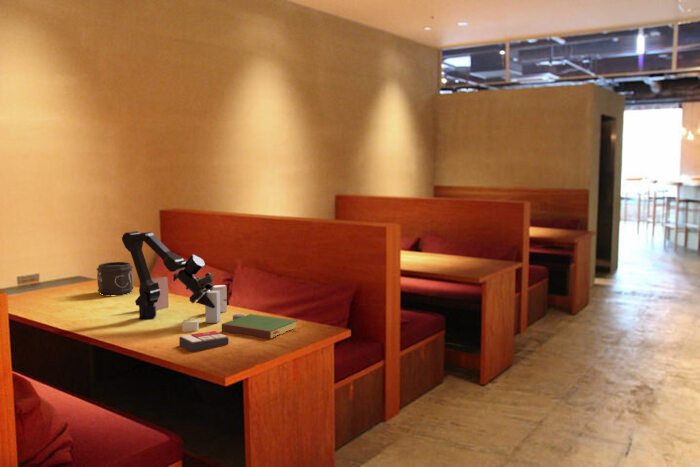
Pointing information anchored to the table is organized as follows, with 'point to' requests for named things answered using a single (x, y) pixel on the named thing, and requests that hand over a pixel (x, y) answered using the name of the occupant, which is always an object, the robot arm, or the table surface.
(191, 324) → the cream block
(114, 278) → the dark decorated pot
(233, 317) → the grey rounded dome
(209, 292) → the light grey block
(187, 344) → the calculator
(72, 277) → the table surface
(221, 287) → the skincare box
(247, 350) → the table surface
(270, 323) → the hardcover book
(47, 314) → the table surface
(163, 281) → the greeting card
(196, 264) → the robot arm
